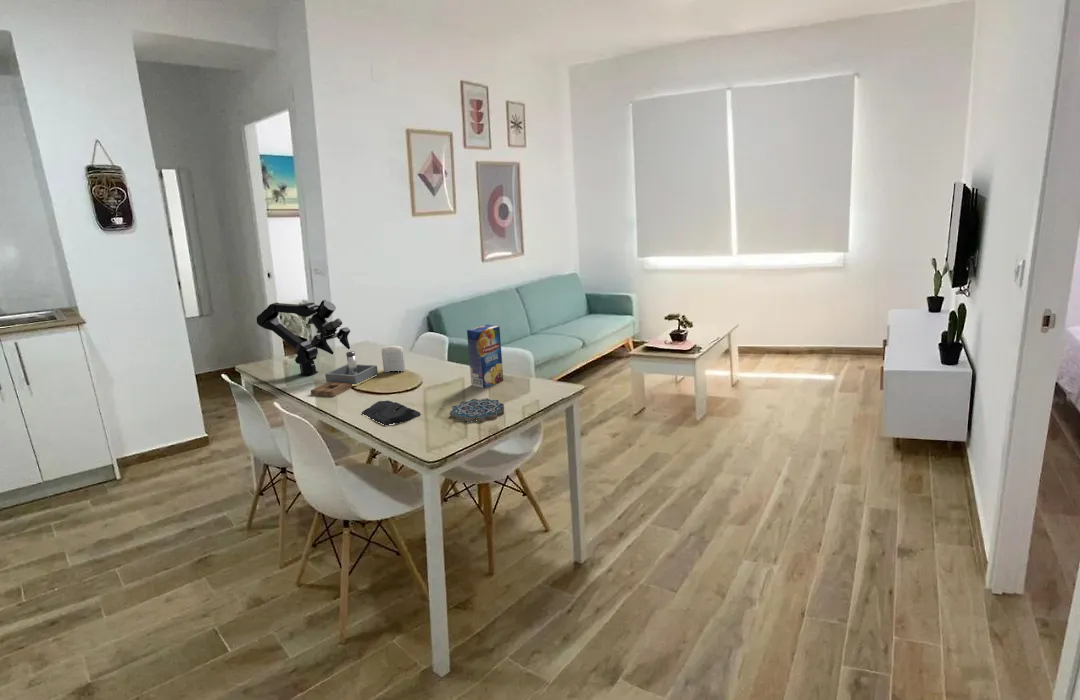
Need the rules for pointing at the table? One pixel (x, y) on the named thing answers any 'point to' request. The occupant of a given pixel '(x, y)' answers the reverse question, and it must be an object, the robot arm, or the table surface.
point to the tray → (345, 377)
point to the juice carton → (485, 355)
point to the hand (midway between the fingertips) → (341, 351)
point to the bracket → (331, 388)
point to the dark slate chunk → (390, 412)
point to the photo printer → (393, 358)
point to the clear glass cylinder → (352, 363)
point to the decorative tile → (477, 410)
